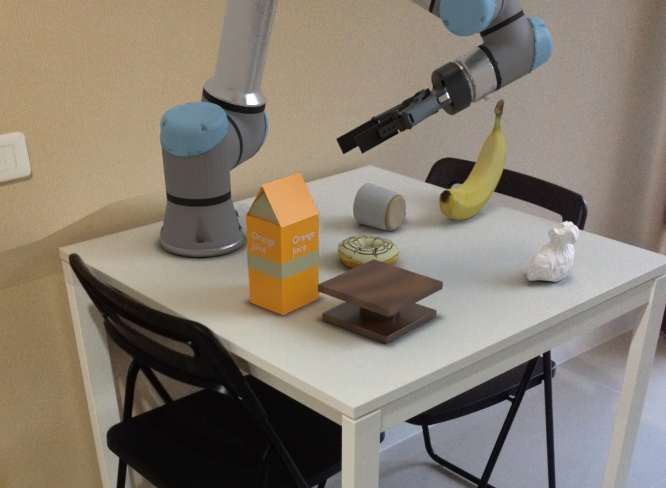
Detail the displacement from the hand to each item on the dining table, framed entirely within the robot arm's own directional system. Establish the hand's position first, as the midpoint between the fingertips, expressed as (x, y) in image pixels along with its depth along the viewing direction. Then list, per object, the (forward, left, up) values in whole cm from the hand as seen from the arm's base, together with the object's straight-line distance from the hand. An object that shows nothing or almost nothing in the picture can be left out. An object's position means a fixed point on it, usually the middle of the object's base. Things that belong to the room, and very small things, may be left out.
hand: (348, 146), depth 158 cm
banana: (-1, +40, -22) cm, 46 cm away
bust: (+28, +23, -22) cm, 42 cm away
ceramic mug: (-10, +23, -22) cm, 34 cm away
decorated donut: (0, +6, -22) cm, 23 cm away
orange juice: (0, -16, -22) cm, 27 cm away
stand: (+16, -11, -22) cm, 29 cm away
